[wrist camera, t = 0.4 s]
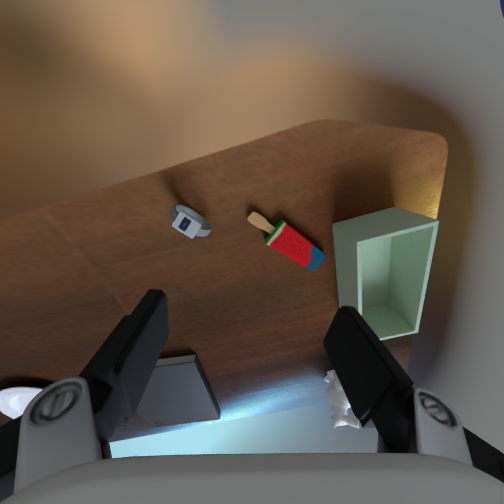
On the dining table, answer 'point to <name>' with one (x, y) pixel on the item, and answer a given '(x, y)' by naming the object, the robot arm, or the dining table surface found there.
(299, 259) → the popsicle
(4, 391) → the plate
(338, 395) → the rabbit
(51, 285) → the dining table surface
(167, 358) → the notebook
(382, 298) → the bin
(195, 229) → the wristwatch
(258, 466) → the robot arm
